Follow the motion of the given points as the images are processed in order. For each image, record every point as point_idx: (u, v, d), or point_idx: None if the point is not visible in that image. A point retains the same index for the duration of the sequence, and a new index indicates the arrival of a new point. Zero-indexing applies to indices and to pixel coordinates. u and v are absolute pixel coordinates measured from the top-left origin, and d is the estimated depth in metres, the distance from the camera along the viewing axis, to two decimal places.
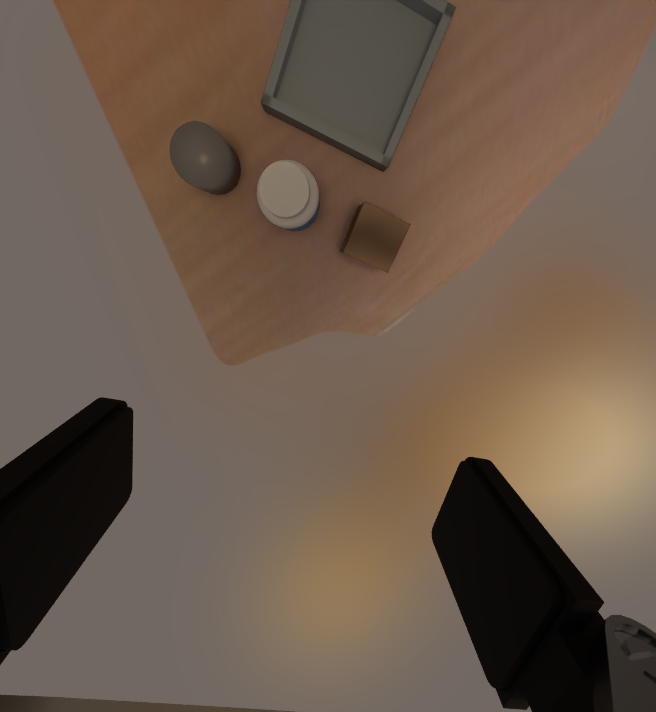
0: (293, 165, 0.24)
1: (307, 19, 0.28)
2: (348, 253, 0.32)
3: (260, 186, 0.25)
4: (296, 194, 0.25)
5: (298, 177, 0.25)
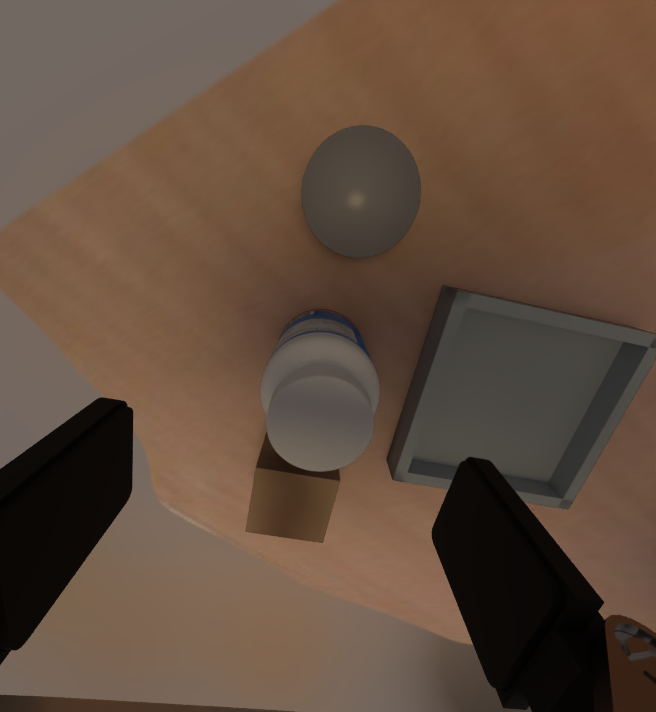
0: (368, 437, 0.12)
1: (557, 334, 0.20)
2: (257, 475, 0.19)
3: (316, 381, 0.11)
4: (316, 452, 0.12)
5: (348, 450, 0.12)
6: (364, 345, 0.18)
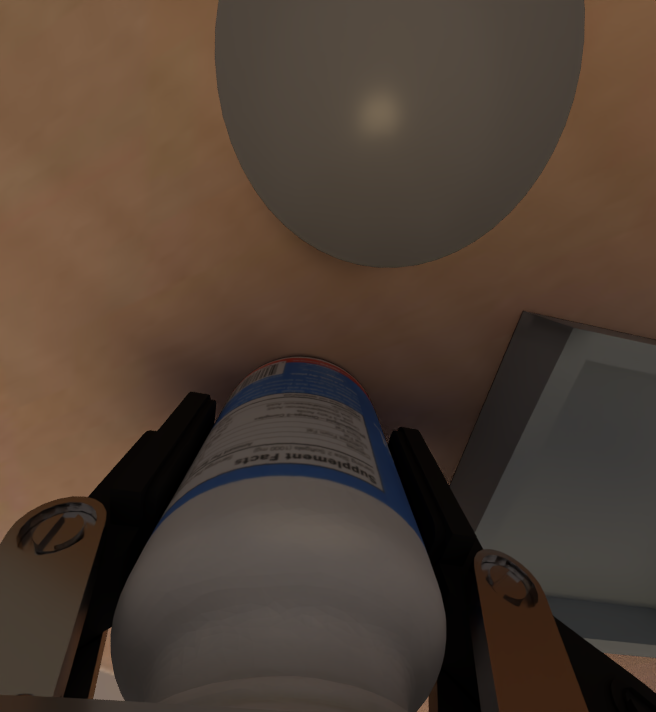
0: None
1: None
2: None
3: None
4: None
5: None
6: (385, 441, 0.09)
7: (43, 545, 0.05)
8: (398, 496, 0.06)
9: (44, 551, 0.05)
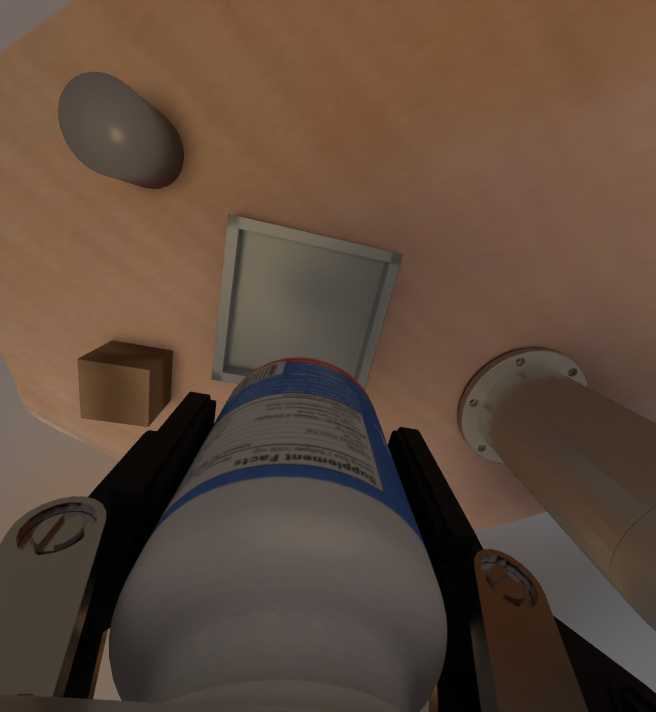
0: None
1: (330, 256, 0.25)
2: (80, 365, 0.23)
3: None
4: None
5: None
6: (385, 441, 0.09)
7: (43, 545, 0.05)
8: (398, 497, 0.06)
9: (44, 551, 0.05)
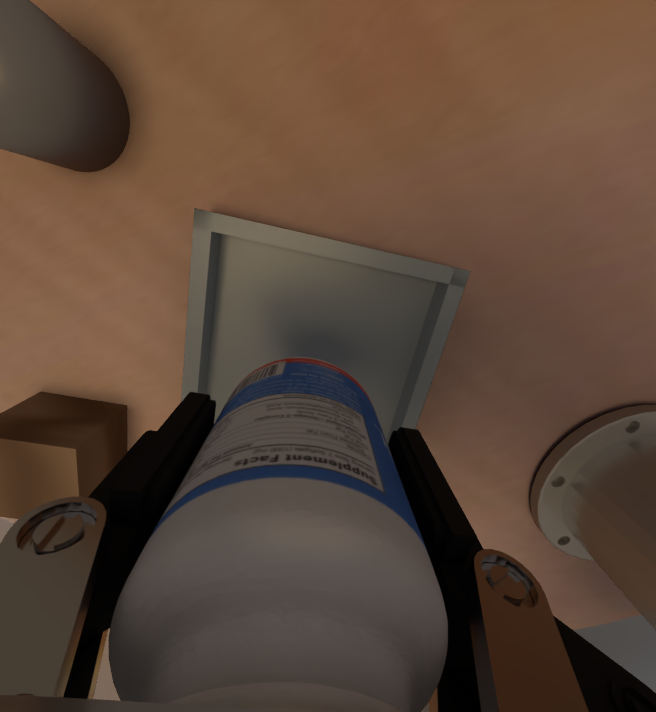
0: None
1: (355, 274, 0.17)
2: None
3: None
4: None
5: None
6: (385, 441, 0.09)
7: (43, 545, 0.05)
8: (399, 497, 0.06)
9: (45, 551, 0.05)
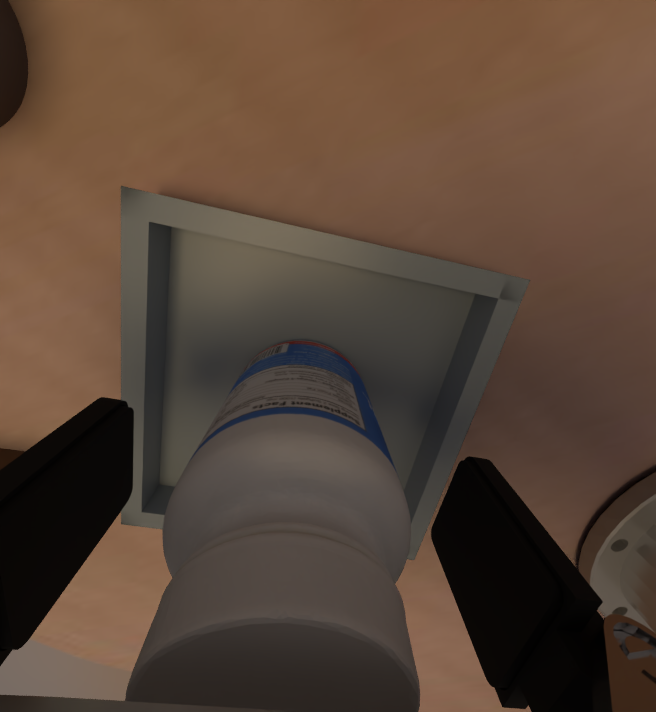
0: None
1: (362, 282, 0.12)
2: None
3: (256, 630, 0.04)
4: None
5: None
6: (372, 407, 0.10)
7: None
8: (377, 437, 0.08)
9: None
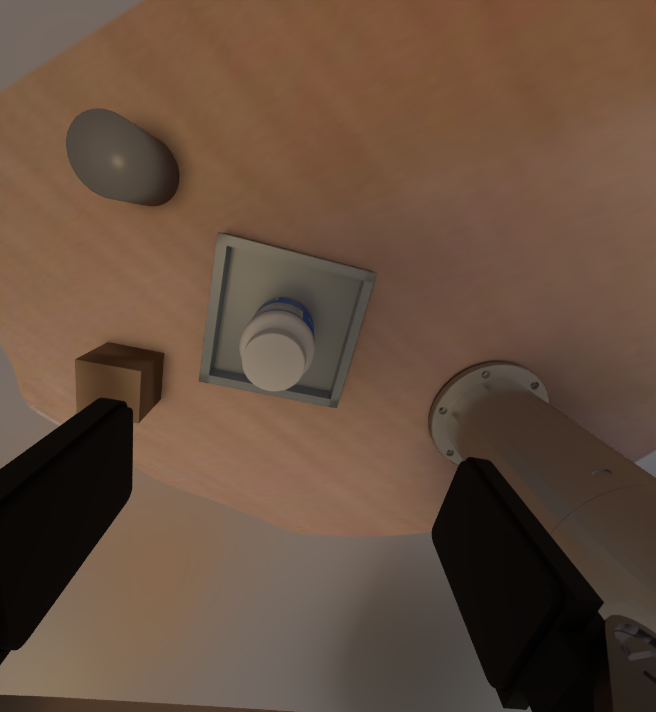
0: (301, 371, 0.20)
1: (311, 272, 0.28)
2: (77, 365, 0.26)
3: (270, 335, 0.19)
4: (271, 378, 0.20)
5: (290, 378, 0.20)
6: (311, 322, 0.26)
7: None
8: (307, 323, 0.23)
9: None
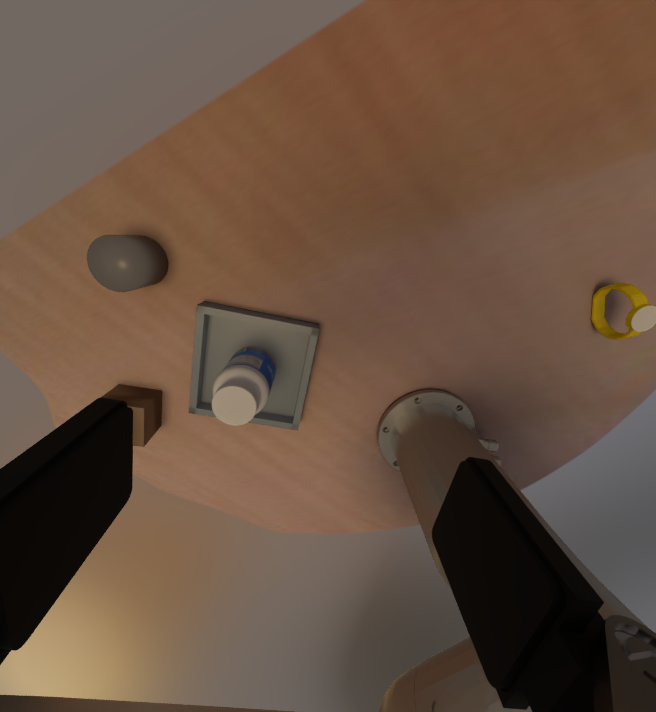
0: (254, 410, 0.29)
1: (271, 328, 0.36)
2: None
3: (230, 388, 0.28)
4: (233, 417, 0.29)
5: (246, 416, 0.29)
6: (270, 367, 0.34)
7: None
8: (263, 372, 0.32)
9: None
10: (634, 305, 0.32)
